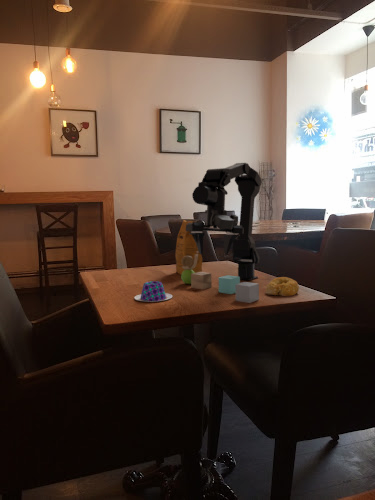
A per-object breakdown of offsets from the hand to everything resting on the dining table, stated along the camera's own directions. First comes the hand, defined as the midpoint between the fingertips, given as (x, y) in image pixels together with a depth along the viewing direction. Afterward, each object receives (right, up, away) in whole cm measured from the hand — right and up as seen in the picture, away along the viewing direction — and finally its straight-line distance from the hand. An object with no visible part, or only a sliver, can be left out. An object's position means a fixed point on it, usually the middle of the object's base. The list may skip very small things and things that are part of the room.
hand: (213, 254), depth 136 cm
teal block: (+5, -12, +1) cm, 13 cm away
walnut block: (-4, -12, +9) cm, 15 cm away
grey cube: (+9, -14, -11) cm, 20 cm away
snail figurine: (-8, -11, +15) cm, 20 cm away
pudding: (-19, -14, -5) cm, 24 cm away
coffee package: (-8, -8, +37) cm, 39 cm away
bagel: (+22, -13, -3) cm, 25 cm away
